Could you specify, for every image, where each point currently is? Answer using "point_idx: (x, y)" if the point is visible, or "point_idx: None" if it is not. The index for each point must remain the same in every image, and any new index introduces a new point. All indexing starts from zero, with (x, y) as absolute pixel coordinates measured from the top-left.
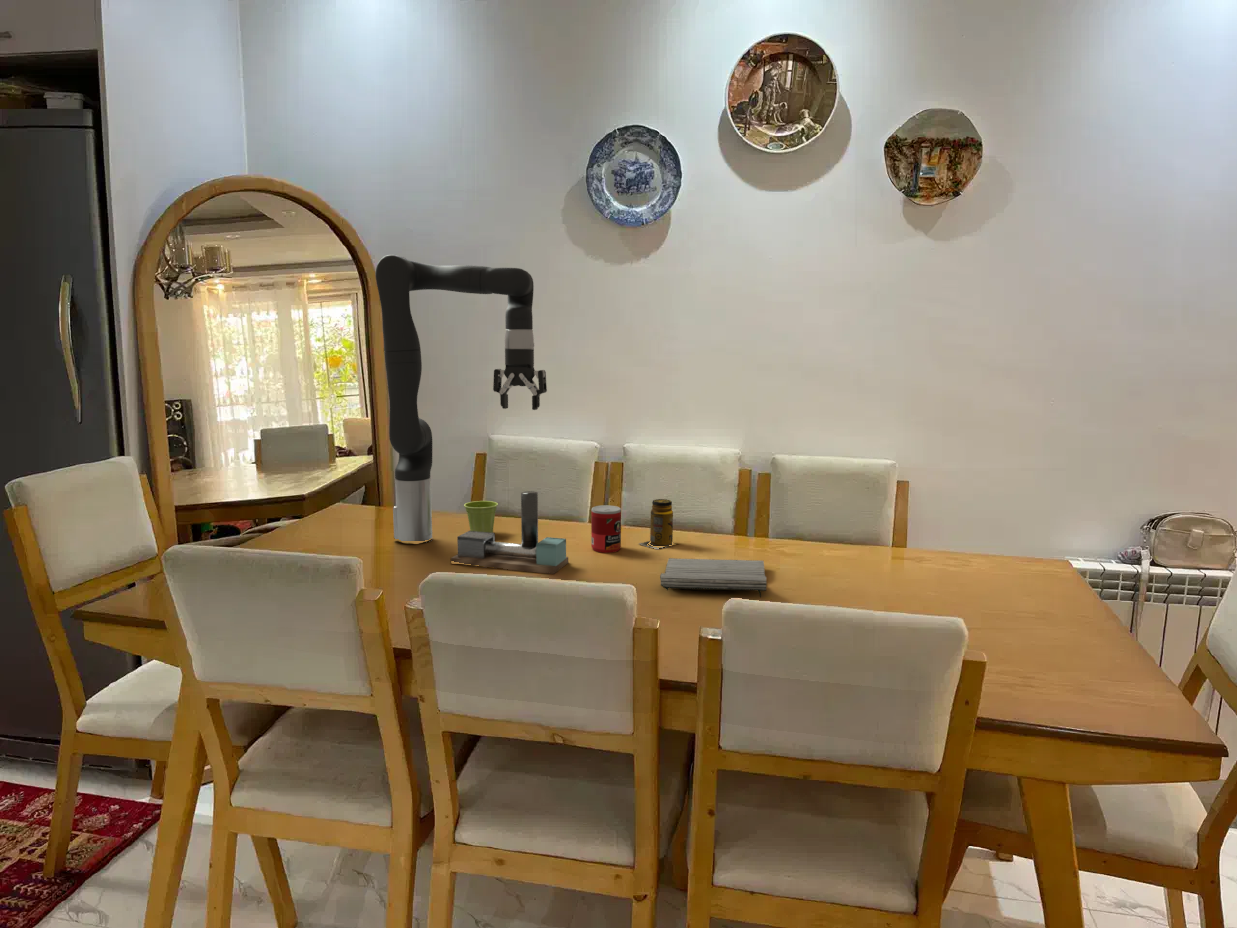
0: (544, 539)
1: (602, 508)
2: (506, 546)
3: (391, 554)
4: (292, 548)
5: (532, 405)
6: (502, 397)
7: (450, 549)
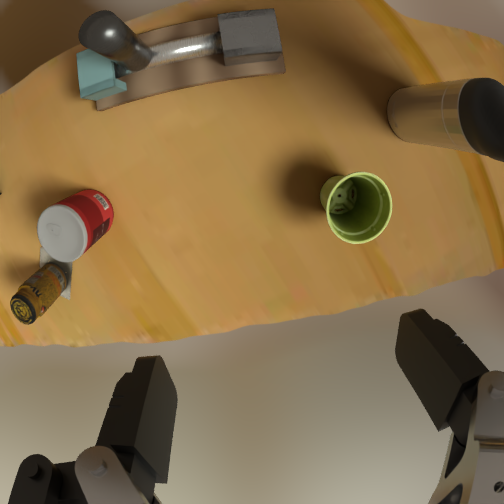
0: (110, 70)
1: (72, 241)
2: (179, 39)
3: (389, 34)
4: (492, 46)
5: (148, 375)
6: (464, 360)
7: (329, 84)
